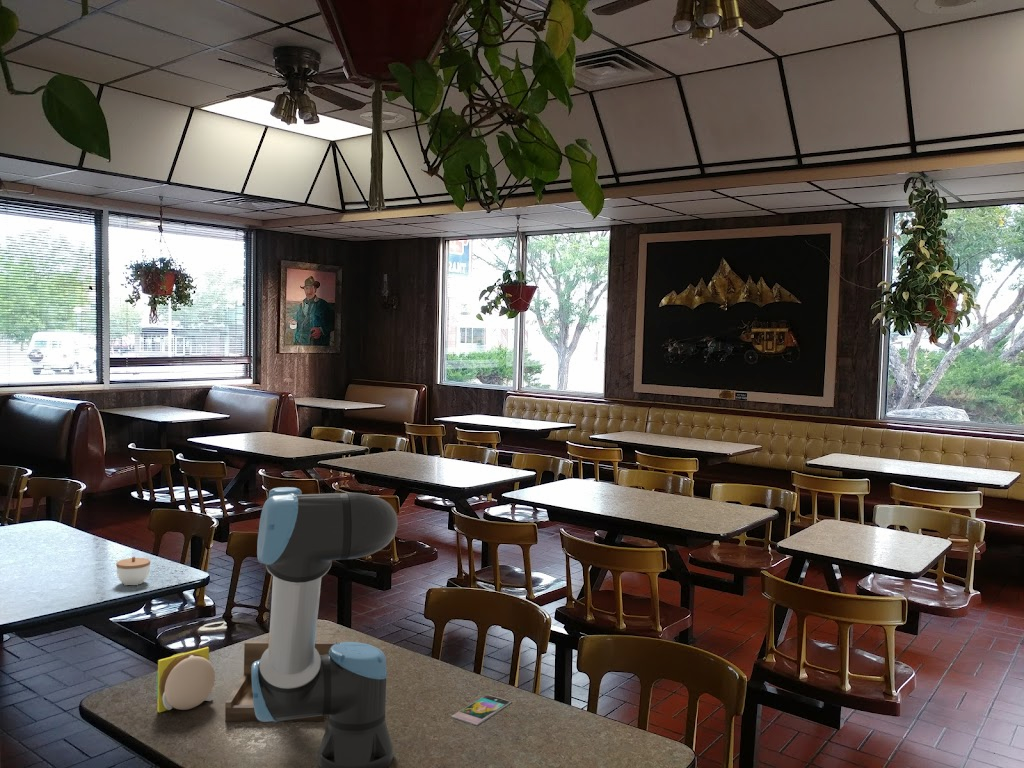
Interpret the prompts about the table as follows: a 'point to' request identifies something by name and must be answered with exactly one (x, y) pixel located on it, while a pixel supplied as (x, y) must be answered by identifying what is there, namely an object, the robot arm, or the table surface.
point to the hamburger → (184, 680)
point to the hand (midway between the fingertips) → (282, 646)
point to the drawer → (242, 695)
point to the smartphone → (481, 710)
